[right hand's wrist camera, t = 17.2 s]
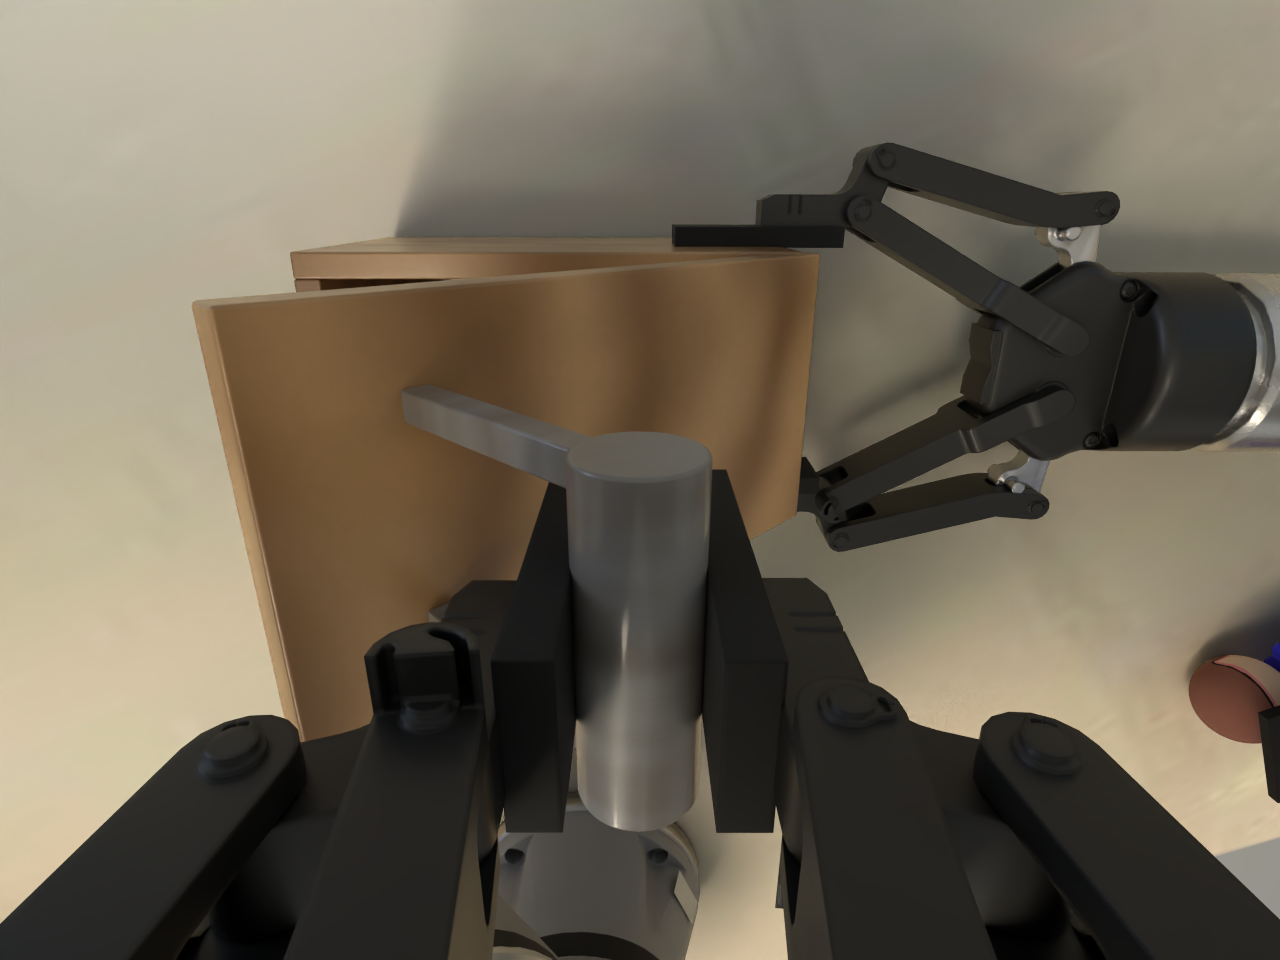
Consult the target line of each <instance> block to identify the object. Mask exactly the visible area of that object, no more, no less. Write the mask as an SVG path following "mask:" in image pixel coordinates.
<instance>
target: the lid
mask: <svg viewBox="0 0 1280 960" xmlns="http://www.w3.org/2000/svg"><path fill="white" fill-rule="evenodd" d="M819 260H820V255H819V254H814V253H796V252H795V253H783V254H771V255H758V256H746V257H733V258H721V259H708V260H696V261H683V262H671V263H658V264H646V265H633V266H621V267H608V268H596V269H583V270H571V271H558V272H546V273H533V274H521V275H509V276H496V277H484V278H471V279H459V280H446V281H434V282H421V283H409V284H396V285H384V286H371V287H359V288H346V289H334V290H321V291H309V292H296V293H284V294H271V295H259V296H247V297H234V298H222V299H209V300H197V301H194V302H193V303H192V309H193V314H194V318H195V322H196V327H197V331H198V336H199V340H200V345H201V349H202V354H203V358H204V362H205V367H206V371H207V376H208V380H209V385H210V389H211V394H212V398H213V402H214V407H215V411H216V416H217V420H218V425H219V429H220V433H221V438H222V442H223V447H224V451H225V456H226V460H227V465H228V469H229V473H230V478H231V482H232V487H233V491H234V496H235V500H236V505H237V509H238V513H239V518H240V522H241V527H242V531H243V536H244V540H245V544H246V549H247V553H248V558H249V562H250V567H251V571H252V576H253V580H254V584H255V589H256V593H257V598H258V602H259V607H260V611H261V615H262V620H263V624H264V629H265V633H266V638H267V642H268V647H269V651H270V655H271V660H272V664H273V669H274V673H275V678H276V682H277V687H278V691H279V695H280V700H281V704H282V709H283V713H284V718H285V719H288V720H289V721H290V722H291V723H292V724H293V725H294V726H295V727H296V728H297V729H298V732H299V736H300V741H301V742H305V741H309V740H314V739H318V738H323V737H327V736H332V735H336V734H341V733H344V732H348V731H351V730H354V729H358V728H361V727H363V726H365V725H367V724H369V723H370V722H371V719H372V717H373V708H372V702H371V697H370V691H369V685H368V679H367V673H366V667H365V661H364V655H365V654H366V653H367V651H368V650H369V649H370V647H371V646H372V645H373V644H374V643H375V642H377V641H378V640H380V639H381V638H383V637H384V636H386V635H387V634H389V633H391V632H393V631H396V630H399V629H401V628H404V627H407V626H410V625H415V624H422V623H428V622H441V620H442V618H444V613H445V611H446V609H447V607H448V605H449V603H450V601H451V599H452V596H453V595H455V594H456V593H457V592H458V591H460V590H461V589H462V588H463V587H465V586H466V585H467V584H468V583H470V582H471V581H472V580H517V578H518V575H519V572H520V569H521V566H522V563H523V560H524V557H525V554H526V551H527V547H528V544H529V541H530V538H531V535H532V532H533V529H534V526H535V523H536V520H537V517H538V514H539V511H540V508H541V505H542V501H543V498H544V495H545V492H546V489H547V486H548V483H549V482H551V483H553V484H555V485H558V486H560V487H563V488H565V489H566V498H567V523H568V549H569V567H570V571H571V591H572V616H573V641H574V666H575V691H576V716H577V720H576V729H575V737H574V745H573V747H574V748H576V752H577V778H578V791H579V795H580V798H581V800H582V802H583V804H584V805H585V807H586V808H587V809H588V811H589V812H590V813H591V814H592V815H593V816H594V817H596V818H597V819H598V820H600V821H601V822H603V823H605V824H607V825H609V826H611V827H614V828H617V829H621V830H626V831H637V832H640V831H651V830H656V829H660V828H663V827H665V826H668V825H670V824H672V823H674V822H676V821H677V820H679V819H680V818H681V817H683V816H684V815H685V814H686V813H687V812H688V810H689V809H690V808H691V806H692V805H693V803H694V801H695V799H696V797H697V794H698V789H699V774H700V750H701V726H702V698H703V674H704V649H705V625H706V600H707V575H708V558H709V534H710V511H711V487H712V469H726V470H727V473H728V476H729V479H730V482H731V485H732V488H733V491H734V494H735V497H736V500H737V504H738V507H739V510H740V513H741V516H742V519H743V522H744V525H745V528H746V531H747V534H748V537H749V540H750V539H752V538H754V537H756V536H758V535H760V534H761V533H763V532H765V531H767V530H769V529H771V528H773V527H775V526H777V525H779V524H780V523H782V522H784V521H786V520H788V519H790V518H792V517H794V516H796V514H797V503H798V492H799V481H800V470H801V459H802V448H803V437H804V426H805V415H806V403H807V392H808V381H809V370H810V359H811V348H812V337H813V326H814V315H815V304H816V293H817V282H818V271H819Z"/></svg>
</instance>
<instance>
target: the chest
mask: <svg viewBox="0 0 1280 960" xmlns="http://www.w3.org/2000/svg"><path fill="white" fill-rule="evenodd" d="M795 252H796V253H802V252H799V251H796V250H792V249H788V248H784V247H675V246H674V245H673V244H672V238H529V237H388V238H382V239H375V240H368V241H362V242H355V243H348V244H341V245H335V246H328V247H321V248H315V249H308V250H301V251H294V252H291V253H290V257H291V263H292V269H293V275H294V278H295V279H296V280H295V281H294V282H295V288H296V292H309V291H321V290H334V289H346V288H359V287H371V286H384V285H396V284H409V283H421V282H434V281H446V280H459V279H471V278H484V277H496V276H509V275H521V274H533V273H546V272H558V271H571V270H583V269H596V268H608V267H621V266H633V265H646V264H658V263H671V262H683V261H696V260H708V259H721V258H733V257H746V256H758V255H771V254H783V253H795Z"/></svg>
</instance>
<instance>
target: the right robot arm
mask: <svg viewBox="0 0 1280 960" xmlns="http://www.w3.org/2000/svg"><path fill="white" fill-rule="evenodd" d="M364 661H365V667H366V673H367V679H368V685H369V691H370V697H371V702H372V708H373V717H372V719H371V722H370V723H369V724H367V725H365V726H363V727H361V728H358V729H354V730H351V731H348V732H344V733H341V734H336V735H332V736H327V737H323V738H318V739H314V740H309V741H305V742H301V741H300V736H299V732H298V729H297V728H296V727H295V726H294V725H293V724H292V723H291V722H290V721H289V720H288V719H284V718H281V717H277V716H274V715H256V716H246V717H243V718H239V719H235V720H231V721H227V722H224V723H222V724H220V725H218V726H216V727H214V728H212V729H210V730H207V731H205V732H203V733H201V734H200V735H198V736H197V737H196V738H195V739H193V740H192V741H191V742H189V743H188V744H187V745H185V746H184V747H183V748H181V749H180V750H179V751H178V752H177V753H176V754H175V755H174V756H173V757H172V758H171V759H170V760H169V761H168V762H167V763H166V764H165V765H164V766H163V767H162V768H161V769H160V770H159V771H158V772H157V773H155V774H154V775H153V776H152V777H151V778H150V779H149V780H148V781H147V782H146V783H145V784H144V785H143V786H142V787H141V788H140V789H139V790H138V791H137V792H136V793H135V794H134V795H133V796H132V797H131V798H130V799H129V800H128V801H127V802H126V803H125V804H123V805H122V806H121V807H120V808H119V809H118V810H117V811H116V812H115V813H114V814H113V815H112V816H111V817H110V818H109V819H108V820H107V821H106V822H105V823H104V824H103V825H102V826H101V827H100V828H99V829H98V830H97V831H96V832H95V833H94V834H93V835H91V836H90V837H89V838H88V839H87V840H86V841H85V842H84V843H83V844H82V845H81V846H80V847H79V848H78V849H77V850H76V851H75V852H74V853H73V854H72V855H71V856H70V857H69V858H68V859H67V860H66V861H65V862H64V863H63V864H62V865H61V866H60V867H58V868H57V869H56V870H55V871H54V872H53V873H52V874H51V875H50V876H49V877H48V878H47V879H46V880H45V881H44V882H43V883H42V884H41V885H40V886H39V887H38V888H37V889H36V890H35V891H34V892H33V893H32V894H31V895H30V896H29V897H28V898H26V899H25V900H24V901H23V902H22V903H21V904H20V905H19V906H18V907H17V908H16V909H15V910H14V911H13V912H12V913H11V914H10V915H9V916H8V917H7V918H6V919H5V920H4V921H3V922H2V923H1V924H0V960H492V954H493V943H494V932H495V921H496V910H497V899H498V888H499V876H500V855H499V844H498V830H499V825H500V821H501V816H502V812H503V807H504V815H505V826H506V833H563V827H564V819H565V811H566V803H567V794H568V786H569V778H570V770H571V761H572V753H573V745H574V737H575V729H576V720H577V716H576V691H575V666H574V641H573V616H572V591H571V571H570V567H569V549H568V523H567V498H566V489H565V488H563V487H560V486H558V485H555V484H553V483H551V482H549V483H548V486H547V489H546V492H545V495H544V498H543V501H542V505H541V508H540V511H539V514H538V517H537V520H536V523H535V526H534V529H533V532H532V535H531V538H530V541H529V544H528V547H527V551H526V554H525V557H524V560H523V563H522V566H521V569H520V572H519V575H518V578H517V580H472V581H471V582H470V583H468V584H467V585H466V586H465V587H463V588H462V589H461V590H460V591H458V592H457V593H456V594H455V595H453V596H452V599H451V601H450V603H449V605H448V607H447V609H446V611H445V613H444V618H442V620H441V622H428V623H422V624H415V625H410V626H407V627H404V628H401V629H399V630H396V631H393V632H391V633H389V634H387V635H386V636H384V637H383V638H381V639H380V640H378V641H377V642H375V643H374V644H373V645H372V646H371V647H370V649H369V650H368V651H367V653H366V654H365V655H364ZM702 718H703V726H704V734H705V742H706V751H707V759H708V767H709V775H710V784H711V792H712V800H713V808H714V817H715V825H716V833H773V829H774V819H775V808H776V807H777V812H778V816H779V821H780V825H781V829H782V844H781V855H780V865H779V875H778V885H777V895H776V906H775V908H783V909H784V919H785V930H786V941H787V952H788V960H1280V919H1279V918H1278V917H1277V916H1276V915H1275V914H1273V913H1272V912H1271V911H1270V910H1269V909H1268V908H1267V907H1266V906H1265V905H1264V904H1263V903H1262V902H1261V901H1260V900H1259V899H1258V898H1257V897H1256V896H1255V895H1254V894H1253V893H1252V892H1251V891H1250V890H1249V889H1248V888H1246V887H1245V886H1244V885H1243V884H1242V883H1241V882H1240V881H1239V880H1238V879H1237V878H1236V877H1235V876H1234V875H1233V874H1232V873H1231V872H1230V871H1229V870H1228V869H1227V868H1226V867H1225V866H1224V865H1223V864H1222V863H1221V862H1219V861H1218V860H1217V859H1216V858H1215V857H1214V856H1213V855H1212V854H1211V853H1210V852H1209V851H1208V850H1207V849H1206V848H1205V847H1204V846H1203V845H1202V844H1201V843H1200V842H1199V841H1198V840H1197V839H1196V838H1195V837H1193V836H1192V835H1191V834H1190V833H1189V832H1188V831H1187V830H1186V829H1185V828H1184V827H1183V826H1182V825H1181V824H1180V823H1179V822H1178V821H1177V820H1176V819H1175V818H1174V817H1173V816H1172V815H1171V814H1170V813H1169V812H1168V811H1166V810H1165V809H1164V808H1163V807H1162V806H1161V805H1160V804H1159V803H1158V802H1157V801H1156V800H1155V799H1154V798H1153V797H1152V796H1151V795H1150V794H1149V793H1148V792H1147V791H1146V790H1145V789H1144V788H1143V787H1142V786H1140V785H1139V784H1138V783H1137V782H1136V781H1135V780H1134V779H1133V778H1132V777H1131V776H1130V775H1129V774H1128V773H1127V772H1126V771H1125V770H1124V769H1123V768H1122V767H1121V766H1120V765H1119V764H1118V763H1117V762H1116V761H1114V760H1113V759H1112V758H1111V757H1110V756H1109V755H1108V754H1107V753H1106V752H1105V751H1104V750H1103V749H1102V748H1101V747H1100V746H1099V745H1098V744H1096V743H1095V742H1094V741H1092V740H1091V739H1090V738H1088V737H1087V736H1086V735H1084V734H1083V733H1082V732H1080V731H1079V730H1077V729H1075V728H1073V727H1071V726H1068V725H1066V724H1064V723H1062V722H1060V721H1058V720H1056V719H1053V718H1049V717H1045V716H1041V715H1037V714H1034V713H1025V712H1006V713H1003V714H999V715H995V716H992V717H991V718H990V719H989V720H988V721H987V722H986V723H985V724H984V725H983V726H982V728H981V732H980V737H979V739H974V738H970V737H965V736H961V735H956V734H952V733H947V732H943V731H938V730H935V729H931V728H928V727H925V726H921V725H919V724H916V723H914V722H912V721H910V720H909V718H908V716H907V713H906V712H905V710H904V709H903V707H902V706H901V704H900V702H899V701H898V699H896V698H895V697H894V696H892V695H891V694H890V693H888V692H887V691H886V690H884V689H883V688H882V687H879V686H877V685H874V684H872V683H870V682H869V681H868V679H867V677H866V674H865V672H864V670H863V668H862V666H861V664H860V662H859V660H858V658H857V656H856V654H855V651H854V649H853V647H852V645H851V643H850V641H849V639H848V637H847V635H846V633H845V631H843V626H842V624H841V622H840V620H839V618H838V616H836V612H835V610H834V608H833V606H832V604H831V601H830V599H829V597H828V595H827V594H826V593H825V592H824V591H823V590H821V589H820V588H819V587H818V586H816V585H815V584H814V583H813V582H811V581H810V580H809V579H808V578H762V577H761V574H760V571H759V568H758V565H757V562H756V559H755V556H754V553H753V550H752V547H751V543H750V540H749V537H748V534H747V531H746V528H745V525H744V522H743V519H742V516H741V513H740V510H739V507H738V504H737V500H736V497H735V494H734V491H733V488H732V485H731V482H730V479H729V476H728V473H727V470H726V469H712V487H711V511H710V534H709V558H708V575H707V600H706V625H705V649H704V674H703V698H702Z"/></svg>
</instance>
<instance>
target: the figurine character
mask: <svg viewBox="0 0 1280 960" xmlns="http://www.w3.org/2000/svg"><path fill="white" fill-rule="evenodd" d="M1272 654H1273V655H1272V656H1270V657H1268V658H1266V659H1265V660H1264V662H1262V661H1259V660H1257V659H1254V658H1250V657H1246V656H1240V655H1226V656H1220V657H1216V658H1213V659H1210V660H1208V661H1207V662H1205V663H1203V664H1202V665H1201V666H1200V667H1199V668H1198V669H1197V670H1196V671H1195V672H1194V674H1193V676H1192V678H1191V680H1190V684H1189V697H1190V701H1191V704H1192V707H1193V709H1194V711H1195V712H1196V714H1197V715H1198V717H1199V718H1200V719H1201V720H1202V721H1203V722H1204V723H1205V724H1206V725H1207V726H1208V727H1209V728H1210V729H1212V730H1213V731H1215V732H1216V733H1218V734H1220V735H1222V736H1224V737H1226V738H1228V739H1231V740H1234V741H1238V742H1243V743H1262V748H1263V756H1264V764H1265V772H1266V779H1267V787H1268V795H1269V796H1270V797H1271V798H1272V799H1274V800H1275V801H1276V802H1277V803H1280V643H1277V644H1275V645H1274V646H1273V647H1272Z"/></svg>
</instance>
